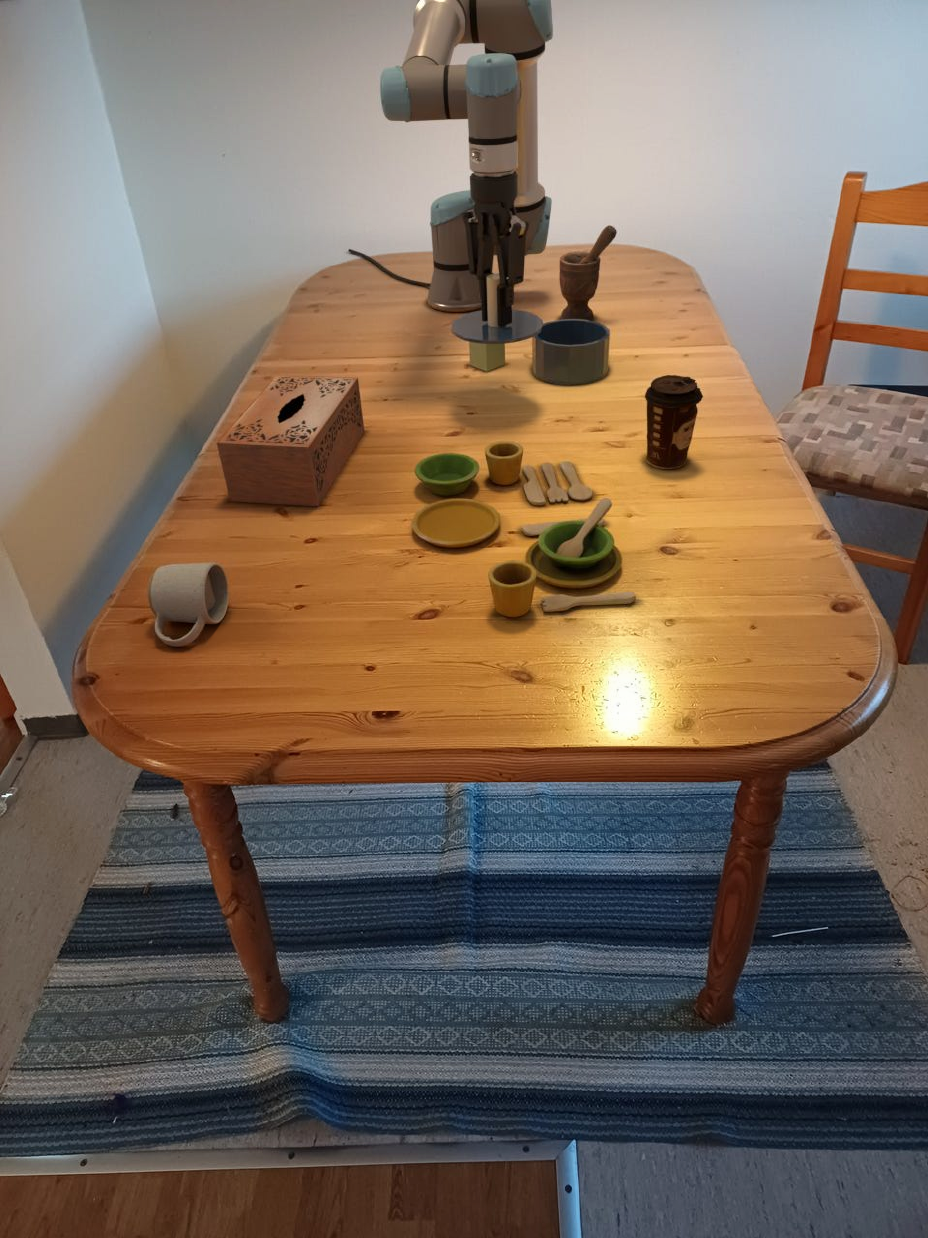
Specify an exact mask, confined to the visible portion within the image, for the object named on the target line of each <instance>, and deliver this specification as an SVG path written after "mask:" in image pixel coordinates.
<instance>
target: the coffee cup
mask: <svg viewBox="0 0 928 1238" xmlns="http://www.w3.org/2000/svg"><path fill="white" fill-rule="evenodd" d="M646 389H647V390H646V391H645V394H644V399H645V401H646V457H645V461H646V464H649V465H650V466H652V467H654V468H656V469H661V470H673V469H678V468H680V467H682V466H684V465H685V464H686V463H687V461H688V456H689V455H688V454H689V449H690V447H691V444H692V443H691V442H692V439H693V435H694V430H695V425H696V420H697V417H698V411H699V409H698V407H697V405H698V404H699V403H701V402H702V400H703V398H704V395H703V393H702V391H701V388H700V387H699V386H698V382H697V380H696V379H694V378H691V377H690V376H683V375H677V374H666V375H662V376H659V377H658V376H657V377H656V378H654V379H653V380H652V381H651V382H650V386H649V387H647V388H646Z"/></svg>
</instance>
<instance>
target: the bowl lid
mask: <svg viewBox="0 0 928 1238" xmlns="http://www.w3.org/2000/svg"><path fill="white" fill-rule="evenodd" d="M486 278H487V313H488V321H486V322H484V321H482V309H480V310H475V311H471V312H468V313H465V314H464V315H461V316H459V317H458V318H456V319H454V321H452V323H451V327H450V329H451V334H453V335H454V337H456V338H458V339H460V340H463V341H466V342H468V343H469V342H473V343H481V344H505V345H506V344H511V343H512V344H513V343H517V342H518V343H519V342H522V341H526V340H529V339H532V337H534V336H536V335H537V334H539V333H540V332H541V331H542V329H543V324H544V321H543V319H542V318H541V317H540V316H539V315H537V314H535V313H532V312H529V311H526V310H521V309H514V308H512V323H510V324H508V325H505V326H502V327H499V326H498V317H497V285H499V284H500V277H499V273H494V274H490V275H488V276H487V277H486Z"/></svg>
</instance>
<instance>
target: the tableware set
mask: <svg viewBox="0 0 928 1238" xmlns="http://www.w3.org/2000/svg"><path fill="white" fill-rule="evenodd" d="M484 456H485V460H486V464H487V469H488V474H489V479H490V481H491V482H492V483H493V484H496V485H500V486H509V485H512V484H515V483H517V481H518V480H519V479H520V474H521V468H522V473H523V474H524V476H525V478H526V480H527V482H525V483H524V484H523V486H522V488H523V491H524V493H525V496H526V498H527V500H528V502H529V503H530V504H531V505H532V506H540V507H541V506H545V505H546V501H547V500H546V497H547V499H548V501H549V503H556V502H557V503H561V502H568V501H569V498H571V499H572V500H576V501H587V500H589V499H591V498H592V497H593V490H592V489H591V488H590V487H589V486H587V485H584V484H582V483H581V482H580V480H579V477H578V475H577V472H576V470H575V467H574V465H573V463H572V462H571V461H568V460H567V461H561V462H560V465H559V466H560V470H561V472H562V473H563V474H564V477H565V478H566V480H567V481H568V483H569V485H570V488H568V490H566V489H564V488H561V486H559V485H558V481H557V478H556V475H555V471H554V470H555V469H554V467H553V465H552V464H551V463H550V462H544V463H542V464H541V471H542V473H543V476H544V478H545V479H546V480H545V481H546V482H547V484H548V486H549V489H548V490H547V491H546V497H545V495H544V493H543V490H542V487H541V485H540V483H539V482H540V481H538V477H537V475H536V473H535V471H534V469H533V466H531V465H529V464H528V465H523V466H522V461H523V456H524V446H523V445H522V444H520V443H518V442H515V441H510V440H509V441H506V440H504V441H496V442H493V443H490V444H488V445H487V446H486V447H485V449H484ZM413 471H414V474H415V476H416V478H417V479H418V480H419V481H420V482H422V483H423V485H424V486H425V487H426V489H428V490H429V491H430V492H431V493H432V494H434V495H437V496H441V497H442V496H443V497H451V496H455V495H459V494H461V493H463V492H465V491H466V490H467V489H468V487H469V486H470V484H471V483H472V481H473V480H474V478H476V476H477V475H478V474H479V471H480V464H479V462H478V461H477V460H476V459H474V458H473V457H471V456H469V455H466V454H462V453H456V452H455V453H454V452H445V453H437V454H433V455H430V456H426V457H425V458H422V459H421V460H420V461H419V462H418V463H417V464H416V465H415V467H414V470H413ZM567 491H568V492H567ZM612 506H613V503H612V500H611V499H610V498H608V497H603V498H602V499H600V500H599V501H598V502H597V503H596V505H595V507H594V508H593V510H592V511H591V512H590V514H589V516H588V517H587V518H582V519H581V518H580V519H572V520H562V521H552V522H544V523H543V522H542V523H533V524H525V525H522V527H521V531H522V533H523V534H524V535H525V536H527V537H528V536H529V537H532V536H538V539H537V540H536V541H535V542H534V543H532V544H531V545H530V547H528V549H527V551H526V553H525V557H524V558H525V559H524V560H525V562H524V561H520V560H505V561H501V562H499V563H496V564H494V565H493V566H492V567H491V568H489V570H488V573H487V577H488V583H489V586H490V591H491V596H492V600H493V606H494V608H495V610H496V612H497V613H498V614H500V615H502V616H504V617H507V618H508V617H509V618H517V617H521V616H523V615H526V614H527V613H528V612H529V611H530V609H531V607H532V603H533V598H534V592H535V588H536V583H537V582H536V581H537V578H539V579H540V580H541V581H543V582H544V583H547V584H549V585H551V586H555V587H558V588H563V589H573V590H575V589H586V588H591V587H594V586H598V585H600V584H602V583H604V582H605V581H607V580H608V579H610V578H612V577H613V576H614V575H616V573H617V572H619V570H620V568H621V566H622V563H623V555H622V553H621V551H620V550H619V548H618V547H617V546H616V545H615V539H614V536H613V535H612V532H610V531H609V530H608V529H607V528H605V527H604V525H605V518H604V517H605V516H606V515H607V514H608V513H609V511H610V510H611V509H612ZM501 520H502V519H501V516H500V513H499V511H498V510H497V509H496V508H495V507H493V506H492V505H490V504H488V503H486V502H484V501H481V500H477V499H472V498H463V497H462V498H448V499H447V498H446V499H442V500H437V501H434V502H431V503H429V504H427V505H425V506H423V507H422V508H420V509H419V510H418V511H417V512H415V514H414V515H413V517H412V519H411V528H412V530H413V532H414V533H415V534H416V535H417V536H418V537H419V538H421V539H422V540H424V541H425V542H427V543H429V544H431V545H434V546H437V547H442V548H453V549H455V548H465V547H470V546H473V545H477V544H479V543H481V542H483V541H485V540H487V539H488V538H489V537H491V536H492V535H493V534H494V533H495V532H496V531H497V530H498V529H499V527H500V525H501ZM636 600H637V595H636V593H635V592H633V591H622V592H621V591H620V592H613V593H603V594H592V595H583V596H571V595H567V594H561V593H560V594H554V595H548V596H543V597H541V599H540V601H541V605H542V610H543V612H562V611H568V610H570V609H572V608H573V607H576V606H577V607H578V606H595V605H596V606H597V605H598V606H599V605H622V604H623V605H626V604H631V603H633V602H635V601H636Z"/></svg>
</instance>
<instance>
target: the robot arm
mask: <svg viewBox="0 0 928 1238" xmlns="http://www.w3.org/2000/svg"><path fill="white" fill-rule="evenodd" d="M552 9H553V8H552V0H417V3H416V5H415V8H414V11H413V14H412V15H413V16H412V27H413V32H412V35H411V39H410V41H409V44H408V47H407V50H406V54H405V56H404V59H403V61H402V64H401V66H400V65H395V66H394V67H393V66H392V67H386V68H384V69H383V70H382V71H381V74H380V79H379V80H380V81H379V92H380V93H379V94H380V102H381V103H380V104H381V109H382V113H383V115H384V117H385V118H386V120H388V121H391V122H404V123H410V122H426V121H427V122H428V121H447V120H448V121H449V120H450V121H451V120H452V121H453V120H467V128H468V129H467V130H468V160H469V162H468V163H469V170H470V171H471V172H472V173H471V174H470V176H469V189H467V190H460V191H455V192H450V193H447V194H444V195H442V196H440V197H437V198H436V199H435V200H434V201H433V202H432V203H431V205H430V222H429V226H430V230H431V231H430V232H431V247H432V263H433V271H432V275H431V281H430V283H429V282H424V281H418V280H413V279H410V278H406V277H403V276H400V275H398V274H396V273H394V272H392V271H390V270H389V269H387V268H386V267H384V266H383V265H382V264H381V263H379V262H377V261H376V260H375V259H374V258H372V257H371V256H369V255H367V254H364V253H362V252H361V251H358V250H354V249H351V248H349V249H348V250H347V251H348V252H349V253H351V254H354V255H357V256H360V257H362V258H364V259H366V260H368V261H369V262H371V263H373V264H374V265H375V266H377V267H378V268H379V269H380V270H381V271H383V272H384V273H386V274H388V275H389V276H391V277H393V278H395V279H397V280H400V281H402V282H405V283H408V284H412V285H415V286H416V285H417V286H421V287H427V288H429V289H428V293H427V304H428V306H429V307H430V308H431V309H434V310H437V311H441V312H448V313H465V312H474V311H479V310H482V321H484V322H486V321H488V313H487V278H486V277H487V276H488V275H490V274H495V273H494V272H493V268H494V267H493V266H494V256H496V260H497V269H498V274H499V277H500V284H499V285H497V317H498V326H499V327H502V326H505V325H508V324H510V323H512V309H513V306H514V303H515V286H516V285H518V284H521V283H523V282H524V279H525V278H524V277H525V258H526V257H527V256H528V255H529V256H531V255H541V254H542V253H544V251H545V250H546V247H547V244H548V236H549V230H550V220H551V219H550V218H551V211H552V203H553V202H552V201H553V199H552V198H551V197H550V196H546V189H545V187H544V186H543V185H542V184H541V183H540V182H539V138H538V137H539V132H538V131H539V129H538V128H539V127H538V126H539V125H538V124H539V122H538V121H539V120H538V118H539V116H538V115H539V113H538V110H539V109H538V107H539V106H538V105H539V104H538V61H539V59H540V58H541V57H542V56H543V54H544V53H545V51H546V43H548V42H549V41H551V40H553V38H554V37H553V36H554V26H553V25H554V23H553V12H552ZM467 44H473V45H474V44H484V45H483V46H484V53H482V54H476V55H472V56H470V57H469V58H468V59H467V61H466V63H465V64H464V63H463V64H451V62H452V58H453V53H454V52H455V51H454V50H455V48H456V47H457V46H458V45H467Z"/></svg>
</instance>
